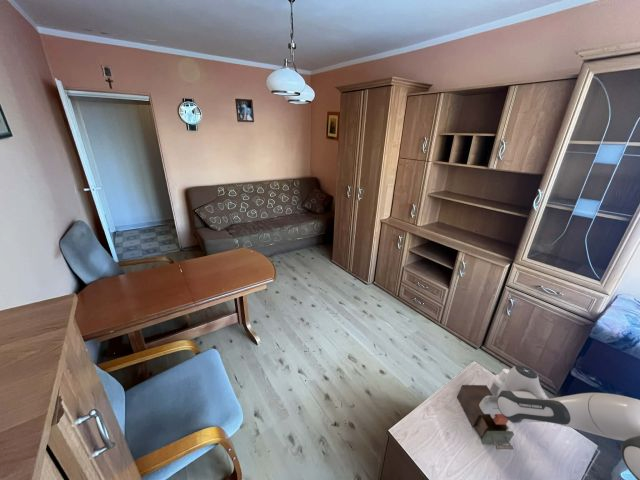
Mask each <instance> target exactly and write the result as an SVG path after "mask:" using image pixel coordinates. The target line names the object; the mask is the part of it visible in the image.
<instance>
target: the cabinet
mask: <svg viewBox="0 0 640 480" xmlns="http://www.w3.org/2000/svg"><path fill="white" fill-rule="evenodd" d="M486 396H493V395H492V393H491V392H490V390H489V386H488V385H486V384H462V385H461V386H460V389H459V391H458V392H457V396H456V399H457V400H458V402H459V404H460V406H461V408H462V411H463V413H464V414H465V416H466V418H467V420H468V422H469V425H470V427H471V428H476V426H475V424H476V422H477V420H478V418H479V416H490V414H484V413H483V412H482V410H481V409H480V406H479V404H480V402H481V401H482V400H483V398H484V397H486Z"/></svg>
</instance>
